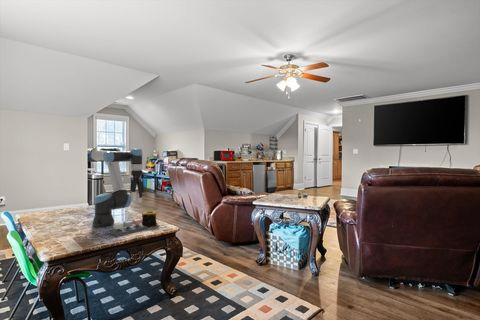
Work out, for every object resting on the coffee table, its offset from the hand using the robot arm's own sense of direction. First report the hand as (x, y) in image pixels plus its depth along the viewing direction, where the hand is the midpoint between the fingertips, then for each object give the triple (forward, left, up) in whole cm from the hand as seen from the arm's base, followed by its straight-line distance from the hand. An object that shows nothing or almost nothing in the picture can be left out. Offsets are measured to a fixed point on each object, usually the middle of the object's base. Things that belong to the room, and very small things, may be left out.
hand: (137, 201), depth 199 cm
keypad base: (0, -7, -20) cm, 21 cm away
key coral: (0, 0, -18) cm, 18 cm away
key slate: (0, -7, -18) cm, 19 cm away
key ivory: (0, -14, -18) cm, 23 cm away
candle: (-2, +11, -20) cm, 23 cm away
